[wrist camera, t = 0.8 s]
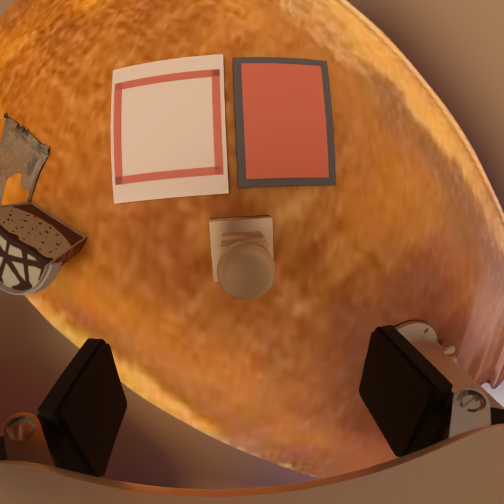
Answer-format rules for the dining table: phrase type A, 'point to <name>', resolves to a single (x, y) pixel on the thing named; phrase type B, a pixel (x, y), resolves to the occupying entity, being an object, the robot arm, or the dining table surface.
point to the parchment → (20, 156)
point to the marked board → (169, 129)
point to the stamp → (243, 255)
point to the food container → (33, 247)
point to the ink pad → (283, 122)
